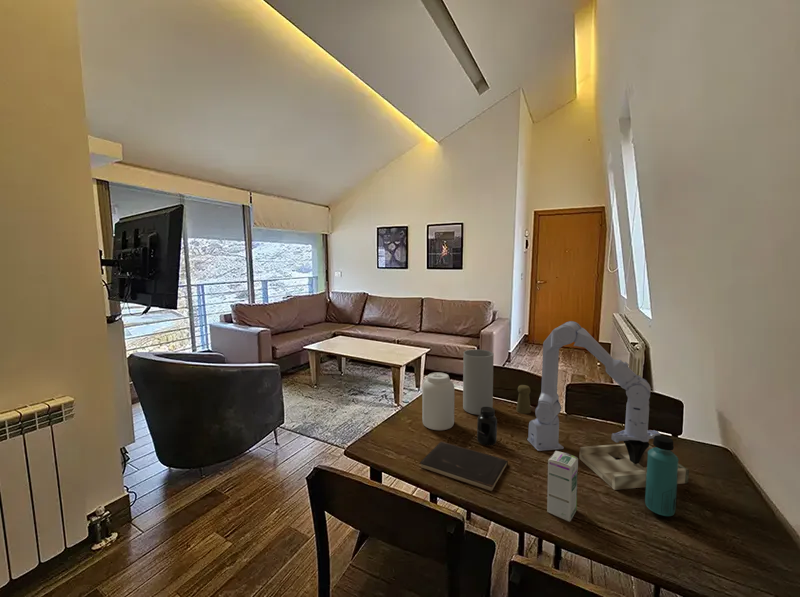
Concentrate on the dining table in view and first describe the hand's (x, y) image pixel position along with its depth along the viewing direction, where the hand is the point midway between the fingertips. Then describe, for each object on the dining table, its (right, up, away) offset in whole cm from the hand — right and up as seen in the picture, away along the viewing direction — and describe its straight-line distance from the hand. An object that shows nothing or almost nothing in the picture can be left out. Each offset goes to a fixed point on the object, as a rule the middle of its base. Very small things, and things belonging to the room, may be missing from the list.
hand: (634, 462), depth 109 cm
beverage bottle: (-6, -5, -18) cm, 20 cm away
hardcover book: (-51, -4, +3) cm, 52 cm away
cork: (-19, +2, +44) cm, 48 cm away
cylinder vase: (-38, +2, +46) cm, 60 cm away
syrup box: (-30, -5, -17) cm, 35 cm away
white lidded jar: (-56, 0, +33) cm, 65 cm away
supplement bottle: (-41, -1, +18) cm, 45 cm away
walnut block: (+4, -1, +1) cm, 5 cm away
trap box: (-2, -3, 0) cm, 3 cm away
